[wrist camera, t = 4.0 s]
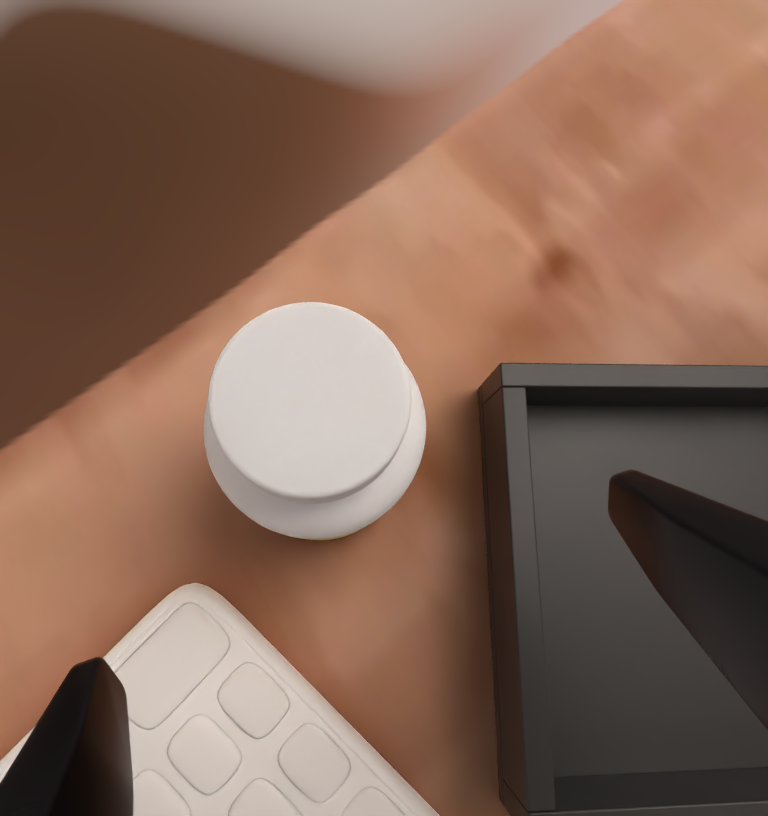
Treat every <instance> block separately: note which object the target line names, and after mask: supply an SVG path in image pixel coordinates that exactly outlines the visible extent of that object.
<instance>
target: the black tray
mask: <svg viewBox="0 0 768 816" xmlns="http://www.w3.org/2000/svg"><path fill="white" fill-rule="evenodd" d="M478 396H479V415H480V434H481V453H482V472H483V491H484V510H485V529H486V547H487V566H488V585H489V604H490V623H491V642H492V661H493V680H494V699H495V718H496V737H497V756H498V775H499V794H500V801H501V802H502V804H503V805H504V807H505V808H506V810H507V811H508V812H509V814H510V815H511V816H768V730H767V729H766V727H765V726H764V725H763V724H762V722H761V721H760V720H759V719H758V717H757V716H756V715H755V714H754V712H753V711H752V710H751V709H750V707H749V706H748V705H747V704H746V702H745V701H744V700H743V699H742V697H741V696H740V695H739V694H738V692H737V691H736V690H735V689H734V687H733V686H732V685H731V684H730V682H729V681H728V680H727V679H726V677H725V676H724V675H723V674H722V672H721V671H720V670H719V669H718V667H717V666H716V665H715V664H714V662H713V661H712V660H711V659H710V657H709V656H708V655H707V654H706V652H705V651H704V650H703V649H702V647H701V646H700V645H699V644H698V642H697V641H696V640H695V639H694V637H693V636H692V635H691V634H690V632H689V631H688V630H687V629H686V627H685V626H684V625H683V624H682V622H681V621H680V620H679V619H678V617H677V616H676V615H675V614H674V612H673V611H672V610H671V609H670V607H669V606H668V605H667V604H666V602H665V601H664V600H663V598H662V597H661V596H660V595H659V593H658V592H657V591H656V589H655V588H654V586H653V585H652V583H651V582H650V580H649V579H648V577H647V576H646V574H645V572H644V571H643V569H642V568H641V566H640V565H639V563H638V561H637V560H636V558H635V557H634V555H633V554H632V552H631V551H630V549H629V547H628V546H627V544H626V543H625V541H624V540H623V538H622V536H621V535H620V533H619V532H618V530H617V529H616V527H615V526H614V524H613V522H612V521H611V518H610V516H609V513H608V494H609V480H610V478H611V477H612V476H613V475H615V474H618V473H621V472H623V471H626V470H631V469H632V470H637V471H640V472H642V473H645V474H647V475H650V476H652V477H655V478H658V479H660V480H663V481H665V482H668V483H671V484H673V485H676V486H678V487H681V488H684V489H686V490H689V491H691V492H694V493H697V494H699V495H702V496H704V497H707V498H710V499H712V500H715V501H717V502H720V503H722V504H725V505H728V506H730V507H733V508H735V509H738V510H741V511H743V512H746V513H748V514H751V515H754V516H756V517H759V518H761V519H764V520H767V521H768V366H731V365H639V364H548V363H500V364H499V365H498V367H497V368H496V369H495V370H494V371H493V372H492V373H491V374H490V376H489V377H488V378H487V379H486V380H485V381H484V382H483V383H482V385H481V386H480V387H479V388H478Z"/></svg>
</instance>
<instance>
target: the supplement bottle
mask: <svg viewBox="0 0 768 816" xmlns="http://www.w3.org/2000/svg"><path fill="white" fill-rule="evenodd" d="M203 433H204V444H205V450H206V455H207V459H208V462H209V465H210V468H211V470H212V473H213V475H214V477H215V479H216V481H217V482H218V484H219V486H220V487H221V489H222V491H223V492H224V493H225V495H226V496H227V497H228V498H229V500H230V501H231V502H232V503H233V504H234V505H235V506H236V507H237V508H238V509H239V510H240V511H241V512H243V513H244V514H245V515H246V516H248V517H249V518H250V519H252V520H253V521H255V522H256V523H258V524H259V525H261V526H263V527H265V528H267V529H269V530H271V531H274V532H277V533H280V534H283V535H287V536H290V537H295V538H302V539H308V540H332V539H337V538H342V537H345V536H348V535H351V534H353V533H355V532H357V531H359V530H361V529H363V528H365V527H366V526H368V525H370V524H371V523H373V522H374V521H376V520H377V519H379V518H380V517H381V516H382V515H384V514H385V513H386V512H387V511H389V510H390V509H391V508H392V507H393V506H394V505H395V504H396V503H397V502H398V501H399V499H400V498H401V497H402V496H403V494H404V493H405V491H406V490H407V488H408V487H409V485H410V484H411V482H412V480H413V478H414V476H415V474H416V472H417V470H418V467H419V465H420V462H421V459H422V455H423V451H424V446H425V438H426V416H425V410H424V404H423V400H422V396H421V393H420V390H419V387H418V385H417V383H416V381H415V379H414V377H413V375H412V373H411V372H410V370H409V369H408V367H407V366H406V364H405V363H404V362H403V360H402V358H401V356H400V354H399V352H398V350H397V349H396V347H395V346H394V344H393V343H392V342H391V340H390V339H389V338H388V337H387V336H386V335H385V333H384V332H383V331H382V330H380V329H379V328H378V327H377V326H376V325H374V324H373V323H372V322H370V321H369V320H368V319H366V318H365V317H363V316H361V315H359V314H357V313H355V312H353V311H351V310H349V309H346V308H343V307H340V306H336V305H332V304H327V303H320V302H301V303H294V304H288V305H284V306H281V307H277V308H274V309H271V310H269V311H267V312H265V313H263V314H261V315H259V316H258V317H256V318H254V319H253V320H251V321H250V322H248V323H247V324H246V325H244V326H243V327H242V328H241V329H240V330H239V331H238V332H237V333H236V334H235V335H234V336H233V337H232V338H231V339H230V340H229V342H228V344H227V345H226V346H225V347H224V349H223V351H222V352H221V354H220V355H219V358H218V360H217V362H216V364H215V366H214V369H213V372H212V375H211V380H210V384H209V392H208V400H207V404H206V409H205V416H204V428H203Z"/></svg>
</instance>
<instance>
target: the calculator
mask: <svg viewBox="0 0 768 816" xmlns="http://www.w3.org/2000/svg"><path fill="white" fill-rule="evenodd" d="M103 659H104V660H105V661H106V662H107V663H108V665H109V666H110V667H111V669H112V670H113V672H114V673H115V674H116V676H117V677H118V679H119V680H120V681H121V683H122V684H123V686H124V689H125V692H126V696H127V707H128V720H129V733H130V747H131V760H132V773H133V790H134V813H133V816H440V815H439V814H438V813H437V812H436V811H435V810H434V809H433V808H432V807H431V806H430V805H429V804H428V803H427V802H426V801H425V800H424V799H423V798H422V797H421V796H420V795H419V794H418V793H417V792H416V791H415V790H414V789H413V788H412V787H411V786H410V785H409V784H408V783H407V782H406V781H405V780H404V779H403V777H402V776H401V775H400V774H399V773H398V772H397V771H396V770H395V769H394V768H393V767H392V766H391V765H390V764H389V763H388V762H387V761H386V760H385V759H384V758H383V757H382V756H381V755H380V754H379V753H378V752H377V751H376V750H375V749H374V748H373V747H372V746H371V745H370V744H369V743H368V742H367V741H366V740H365V739H364V738H363V737H362V736H361V735H360V734H359V733H358V732H357V731H356V730H355V729H354V728H353V727H352V726H351V725H350V724H349V723H348V722H347V721H346V720H345V719H344V718H343V717H342V716H341V714H340V713H339V712H338V711H337V710H336V709H335V708H334V707H333V706H332V705H331V704H330V703H329V702H328V701H327V700H326V699H325V698H324V697H323V696H322V695H321V694H320V693H319V692H318V691H317V690H316V689H315V688H314V687H313V686H312V685H311V684H310V683H309V682H308V681H307V680H306V679H305V678H304V677H303V676H302V675H301V674H300V673H299V672H298V671H297V670H296V669H295V668H294V667H293V666H292V665H291V664H290V663H289V662H288V661H287V660H286V659H285V658H284V657H283V656H282V655H281V654H280V652H279V651H278V650H277V649H276V648H275V647H274V646H273V645H272V644H271V643H270V642H269V641H268V640H267V639H266V638H265V637H264V636H263V635H262V634H261V633H260V632H259V631H258V630H257V629H256V628H255V627H254V626H253V625H252V624H251V623H250V622H249V621H248V620H247V619H246V618H245V617H244V616H243V615H242V614H241V613H240V612H239V611H238V610H237V609H236V608H235V607H234V606H233V605H232V604H230V603H229V602H228V601H227V600H226V599H225V598H224V597H223V596H222V595H220V594H219V593H217V592H216V591H214V590H213V589H211V588H210V587H208V586H206V585H202V584H199V583H192V584H187V585H183V586H181V587H179V588H178V589H176V590H175V591H173V592H172V593H170V594H169V595H167V596H166V597H165V598H164V599H163V600H162V601H161V602H159V603H158V604H157V605H156V606H155V607H154V608H153V609H152V610H151V611H150V612H148V613H147V614H146V615H145V616H144V617H143V618H142V619H141V620H140V621H139V622H138V623H137V624H136V625H135V626H134V627H133V628H132V629H131V630H130V631H129V632H128V633H127V634H126V635H125V636H124V637H123V638H122V639H121V640H120V641H119V642H118V643H117V644H116V645H115V646H114V647H113V648H112V649H111V650H110V651H109V652H108V653H107V654H106V655H105V656H104V657H103ZM34 728H35V727H34ZM34 728H33V729H34ZM33 729H32V730H31V731H30V732H29V733H28V734H27V735H26V736H25V737H24V738H23V739H22V740H21V741H20V742H19V743H18V744H17V745H16V746H15V747H14V748H13V749H12V750H11V751H10V752H9V753H8V754H7V755H6V756H5V757H4V758H3V759H2V760H1V761H0V783H1V781H2V779H3V778H4V776H5V774H6V773H7V771H8V770H9V768H10V766H11V765H12V763H13V762H14V760H15V758H16V757H17V755H18V753H19V752H20V750H21V749H22V747H23V745H24V744H25V742H26V741H27V739H28V737H29V736H30V734H31V732H32V731H33Z"/></svg>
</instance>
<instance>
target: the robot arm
mask: <svg viewBox="0 0 768 816" xmlns="http://www.w3.org/2000/svg"><path fill="white" fill-rule="evenodd" d="M608 513H609V516H610V518H611V521H612V522H613V524H614V526H615V527H616V529H617V530H618V532H619V533H620V535H621V536H622V538H623V540H624V541H625V543H626V544H627V546H628V547H629V549H630V551H631V552H632V554H633V555H634V557H635V558H636V560H637V561H638V563H639V565H640V566H641V568H642V569H643V571H644V572H645V574H646V576H647V577H648V579H649V580H650V582H651V583H652V585H653V586H654V588H655V589H656V591H657V592H658V593H659V595H660V596H661V597H662V598H663V600H664V601H665V602H666V604H667V605H668V606H669V607H670V609H671V610H672V611H673V612H674V614H675V615H676V616H677V617H678V619H679V620H680V621H681V622H682V624H683V625H684V626H685V627H686V629H687V630H688V631H689V632H690V634H691V635H692V636H693V637H694V639H695V640H696V641H697V642H698V644H699V645H700V646H701V647H702V649H703V650H704V651H705V652H706V654H707V655H708V656H709V657H710V659H711V660H712V661H713V662H714V664H715V665H716V666H717V667H718V669H719V670H720V671H721V672H722V674H723V675H724V676H725V677H726V679H727V680H728V681H729V682H730V684H731V685H732V686H733V687H734V689H735V690H736V691H737V692H738V694H739V695H740V696H741V697H742V699H743V700H744V701H745V702H746V704H747V705H748V706H749V707H750V709H751V710H752V711H753V712H754V714H755V715H756V716H757V717H758V719H759V720H760V721H761V722H762V724H763V725H764V726H765V727H766V729H767V730H768V521H767V520H764V519H761V518H759V517H756V516H754V515H751V514H748V513H746V512H743V511H741V510H738V509H735V508H733V507H730V506H728V505H725V504H722V503H720V502H717V501H715V500H712V499H710V498H707V497H704V496H702V495H699V494H697V493H694V492H691V491H689V490H686V489H684V488H681V487H678V486H676V485H673V484H671V483H668V482H665V481H663V480H660V479H658V478H655V477H652V476H650V475H647V474H645V473H642V472H640V471H637V470H632V469H631V470H626V471H623V472H621V473H618V474H615V475H613V476H612V477H611V478H610V480H609V494H608ZM133 813H134V790H133V773H132V760H131V747H130V733H129V720H128V707H127V696H126V692H125V689H124V686H123V684H122V683H121V681H120V680H119V679H118V677H117V676H116V674H115V673H114V672H113V670H112V669H111V667H110V666H109V665H108V663H107V662H106V661H105V660H104V659H103V658H101V657H95V658H93V659H90V660H87V661H84V662H81V663H78V664H76V665H75V666H73V668H72V669H71V670H70V671H69V673H68V674H67V676H66V677H65V679H64V681H63V682H62V684H61V686H60V687H59V689H58V690H57V692H56V694H55V695H54V697H53V698H52V700H51V702H50V703H49V705H48V707H47V708H46V710H45V711H44V713H43V715H42V716H41V718H40V720H39V721H38V723H37V724H36V726H35V728H34V729H33V731H32V732H31V734H30V736H29V737H28V739H27V741H26V742H25V744H24V745H23V747H22V749H21V750H20V752H19V753H18V755H17V757H16V758H15V760H14V762H13V763H12V765H11V766H10V768H9V770H8V771H7V773H6V774H5V776H4V778H3V779H2V781H1V783H0V816H133Z"/></svg>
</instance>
